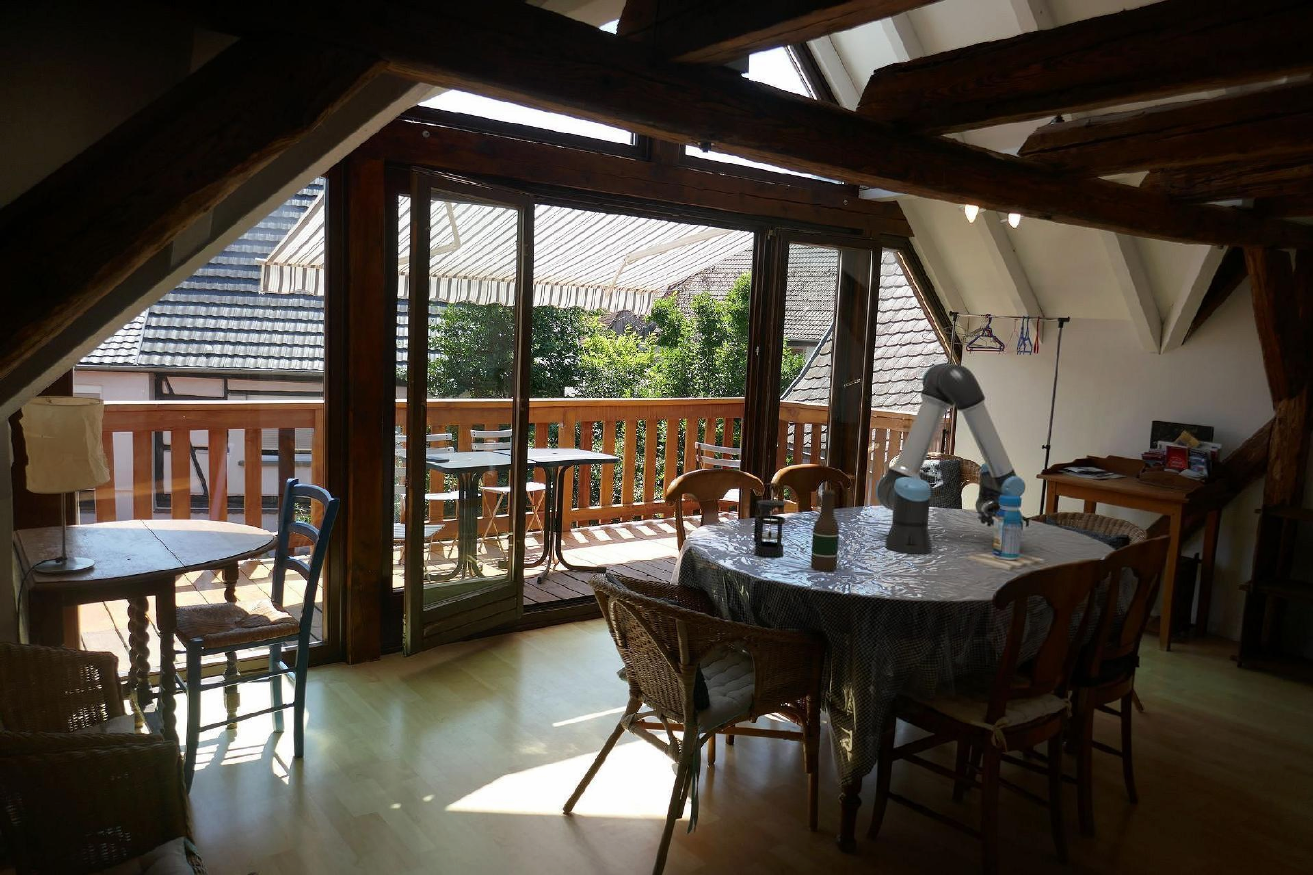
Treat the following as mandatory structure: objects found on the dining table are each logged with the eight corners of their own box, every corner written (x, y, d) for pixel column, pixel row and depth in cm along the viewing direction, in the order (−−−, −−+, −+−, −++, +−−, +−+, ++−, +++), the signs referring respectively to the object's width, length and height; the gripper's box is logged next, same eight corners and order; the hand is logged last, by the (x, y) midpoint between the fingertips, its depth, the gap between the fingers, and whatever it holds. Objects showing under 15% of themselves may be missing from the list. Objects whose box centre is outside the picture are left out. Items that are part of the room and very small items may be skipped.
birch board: (1009, 569, 297) (1009, 566, 297) (967, 559, 309) (967, 556, 309) (1043, 562, 309) (1044, 559, 309) (1002, 553, 321) (1002, 550, 321)
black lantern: (791, 556, 302) (795, 484, 300) (769, 559, 297) (773, 486, 294) (765, 549, 312) (769, 479, 309) (744, 552, 306) (748, 481, 304)
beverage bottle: (1012, 561, 303) (1017, 499, 301) (987, 556, 309) (992, 495, 307) (1024, 557, 309) (1029, 496, 307) (998, 553, 315) (1003, 493, 313)
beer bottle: (805, 568, 288) (810, 489, 286) (820, 564, 294) (825, 487, 291) (826, 573, 283) (831, 493, 280) (841, 569, 288) (846, 491, 286)
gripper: (1025, 525, 326) (1043, 539, 304) (963, 521, 329) (976, 534, 306) (1026, 503, 326) (1045, 516, 303) (964, 500, 328) (978, 511, 306)
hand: (1010, 525), depth 305 cm, fingers closed on beverage bottle, 8 cm apart
